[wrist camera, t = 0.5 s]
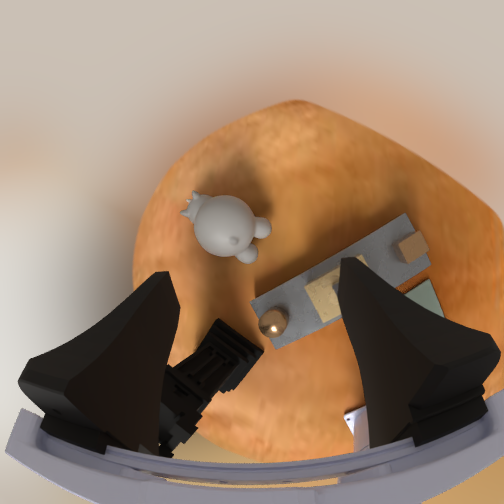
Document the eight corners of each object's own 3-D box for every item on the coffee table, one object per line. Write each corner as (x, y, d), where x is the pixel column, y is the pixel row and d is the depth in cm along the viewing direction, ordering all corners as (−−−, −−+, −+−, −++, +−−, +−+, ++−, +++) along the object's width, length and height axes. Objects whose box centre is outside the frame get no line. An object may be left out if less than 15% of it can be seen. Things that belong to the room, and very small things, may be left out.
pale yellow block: (358, 253, 30) (362, 254, 26) (376, 287, 30) (382, 293, 25) (307, 282, 32) (302, 288, 28) (324, 315, 31) (322, 325, 27)
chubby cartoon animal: (226, 189, 40) (184, 166, 34) (283, 225, 33) (241, 201, 27) (201, 230, 42) (157, 214, 35) (252, 274, 35) (204, 262, 28)
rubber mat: (449, 335, 29) (450, 335, 28) (382, 374, 32) (382, 376, 31) (428, 278, 30) (429, 279, 29) (357, 321, 33) (357, 322, 32)
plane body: (400, 214, 31) (413, 208, 25) (425, 263, 30) (441, 266, 24) (255, 298, 37) (240, 307, 31) (279, 343, 36) (269, 359, 30)
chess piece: (218, 318, 38) (122, 371, 19) (264, 351, 36) (197, 436, 17) (194, 356, 40) (103, 417, 21) (235, 388, 38) (164, 471, 19)
